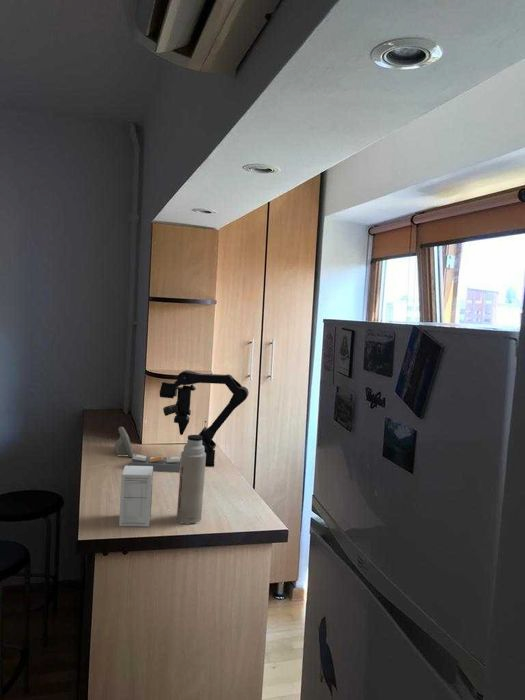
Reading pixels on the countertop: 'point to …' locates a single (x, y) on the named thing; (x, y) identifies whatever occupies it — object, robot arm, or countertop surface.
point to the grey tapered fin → (123, 444)
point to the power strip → (159, 464)
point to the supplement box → (136, 496)
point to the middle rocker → (156, 458)
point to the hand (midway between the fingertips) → (181, 434)
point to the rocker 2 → (173, 459)
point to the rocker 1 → (139, 457)
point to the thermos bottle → (191, 480)
